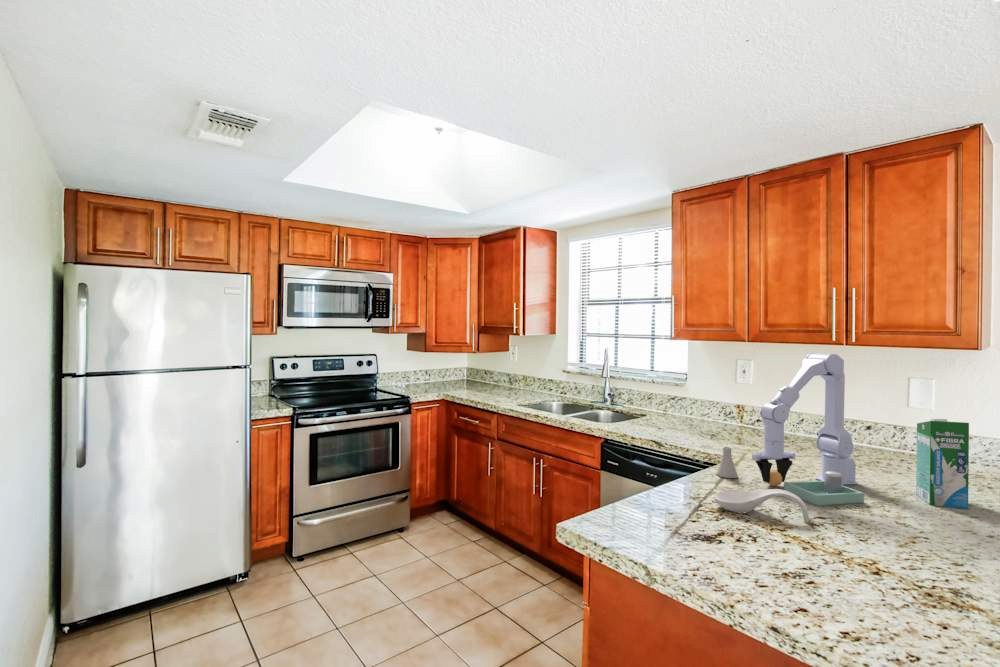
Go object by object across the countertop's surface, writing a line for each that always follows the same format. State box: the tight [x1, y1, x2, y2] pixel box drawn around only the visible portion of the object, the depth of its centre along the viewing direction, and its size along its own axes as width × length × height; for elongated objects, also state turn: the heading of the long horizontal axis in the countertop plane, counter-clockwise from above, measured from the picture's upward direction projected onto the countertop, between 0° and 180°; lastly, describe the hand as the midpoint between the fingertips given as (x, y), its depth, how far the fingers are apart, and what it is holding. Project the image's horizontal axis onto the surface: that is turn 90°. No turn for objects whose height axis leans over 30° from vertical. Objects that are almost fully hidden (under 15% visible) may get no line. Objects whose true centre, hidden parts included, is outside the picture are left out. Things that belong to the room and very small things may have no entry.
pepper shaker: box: [824, 471, 842, 494], centre depth 154 cm, size 4×4×7 cm
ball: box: [767, 469, 783, 487], centre depth 165 cm, size 5×5×5 cm
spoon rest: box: [713, 488, 810, 523], centre depth 140 cm, size 24×12×7 cm, turn 62°
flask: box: [716, 446, 739, 479], centre depth 176 cm, size 7×7×10 cm
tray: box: [783, 480, 865, 507], centre depth 154 cm, size 16×13×3 cm
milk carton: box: [915, 418, 970, 510], centre depth 150 cm, size 9×9×25 cm
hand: (773, 481), depth 165 cm, fingers closed on ball, 5 cm apart
